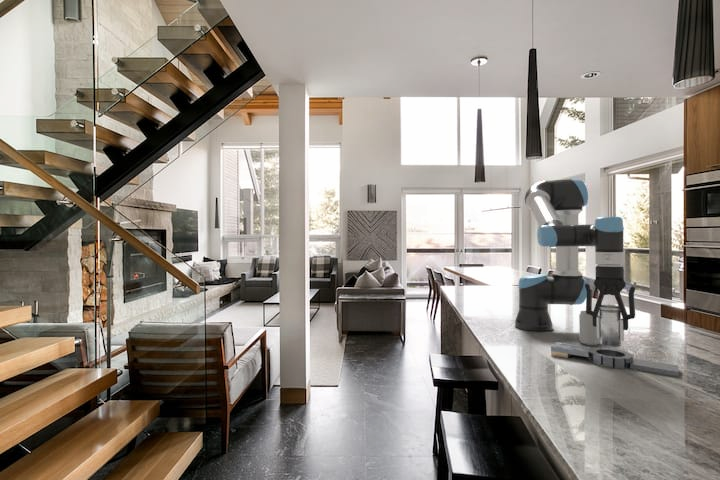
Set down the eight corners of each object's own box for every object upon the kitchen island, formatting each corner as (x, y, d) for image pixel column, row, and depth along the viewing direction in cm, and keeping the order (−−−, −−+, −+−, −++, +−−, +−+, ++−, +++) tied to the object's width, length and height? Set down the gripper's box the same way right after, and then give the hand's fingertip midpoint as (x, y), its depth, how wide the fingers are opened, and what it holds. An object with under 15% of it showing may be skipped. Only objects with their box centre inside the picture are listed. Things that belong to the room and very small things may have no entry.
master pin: (597, 344, 120) (596, 306, 120) (600, 340, 125) (600, 304, 125) (620, 348, 116) (620, 308, 116) (623, 343, 121) (622, 306, 121)
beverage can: (594, 341, 144) (593, 310, 144) (603, 346, 138) (602, 313, 138) (576, 341, 145) (576, 310, 145) (584, 346, 139) (584, 313, 139)
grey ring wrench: (549, 357, 127) (549, 348, 127) (557, 349, 136) (557, 340, 136) (678, 379, 105) (678, 368, 105) (678, 368, 114) (678, 358, 114)
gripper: (573, 265, 124) (574, 336, 124) (644, 267, 112) (646, 346, 112) (578, 263, 129) (579, 332, 129) (646, 265, 117) (647, 340, 117)
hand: (610, 338), depth 120 cm, fingers closed on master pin, 5 cm apart
